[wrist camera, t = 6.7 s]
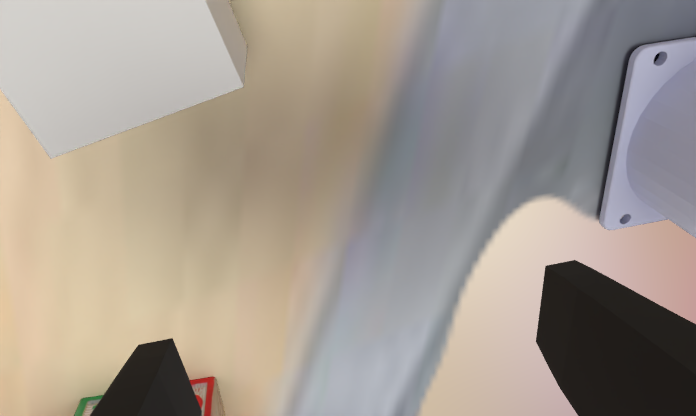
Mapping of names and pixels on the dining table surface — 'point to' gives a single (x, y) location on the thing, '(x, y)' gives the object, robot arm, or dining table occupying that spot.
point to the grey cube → (114, 63)
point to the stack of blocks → (202, 388)
